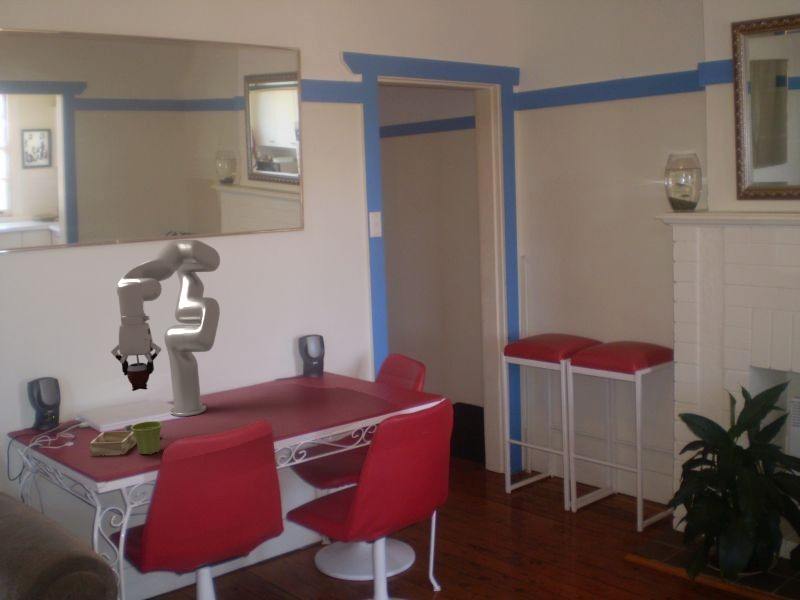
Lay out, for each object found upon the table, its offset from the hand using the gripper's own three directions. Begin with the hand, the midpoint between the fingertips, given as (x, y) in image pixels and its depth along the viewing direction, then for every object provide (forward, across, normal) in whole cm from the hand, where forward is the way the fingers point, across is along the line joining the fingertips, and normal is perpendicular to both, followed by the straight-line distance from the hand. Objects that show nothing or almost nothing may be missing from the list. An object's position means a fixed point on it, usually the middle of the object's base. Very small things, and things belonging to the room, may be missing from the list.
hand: (138, 373), depth 306 cm
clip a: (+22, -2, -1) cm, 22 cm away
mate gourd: (+5, 0, 0) cm, 5 cm away
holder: (+22, +7, +10) cm, 25 cm away
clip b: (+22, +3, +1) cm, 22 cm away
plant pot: (+22, -6, +14) cm, 27 cm away
